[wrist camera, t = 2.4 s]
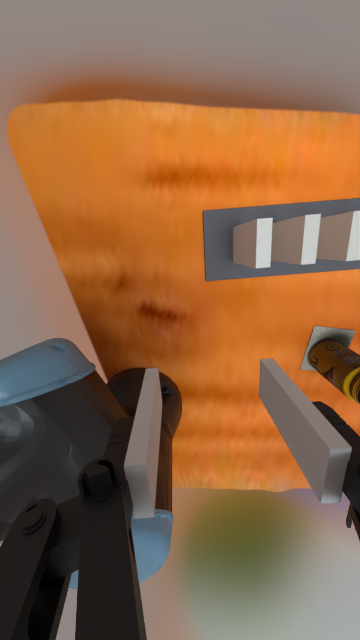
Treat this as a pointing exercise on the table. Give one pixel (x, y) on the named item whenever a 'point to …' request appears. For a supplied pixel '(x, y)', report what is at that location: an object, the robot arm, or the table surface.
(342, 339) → the condiment
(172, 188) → the table surface
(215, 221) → the mat
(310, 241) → the domino
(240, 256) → the domino
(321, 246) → the domino
